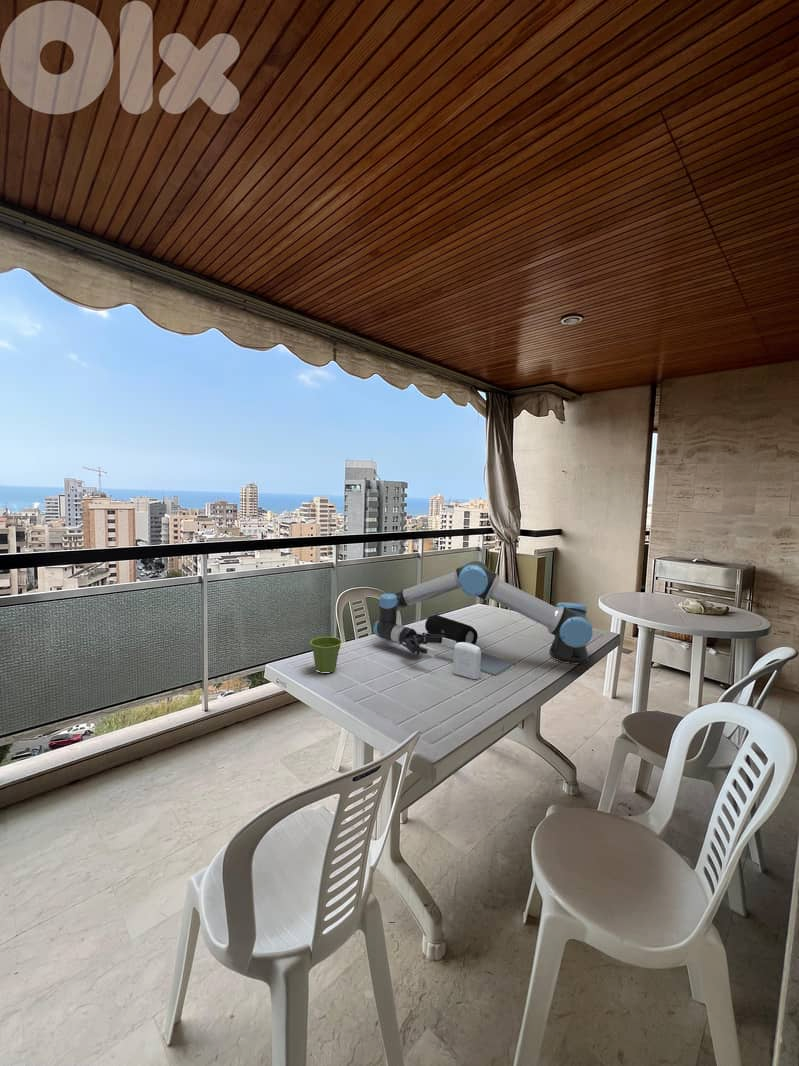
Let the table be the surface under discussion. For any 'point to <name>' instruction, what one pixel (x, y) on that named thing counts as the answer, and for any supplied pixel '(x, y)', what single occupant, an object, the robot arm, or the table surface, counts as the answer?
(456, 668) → the photo printer
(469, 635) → the portable speaker
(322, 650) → the plant pot
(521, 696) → the table surface
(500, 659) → the rubber mat
